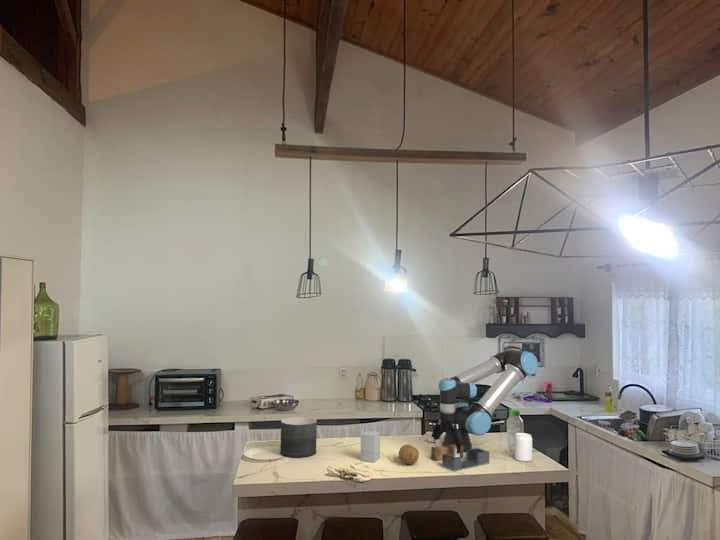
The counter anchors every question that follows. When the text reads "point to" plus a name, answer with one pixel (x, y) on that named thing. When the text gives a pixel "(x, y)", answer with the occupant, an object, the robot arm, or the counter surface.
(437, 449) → the slat
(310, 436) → the planter
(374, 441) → the supplement box
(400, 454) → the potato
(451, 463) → the grey notched block
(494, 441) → the counter surface
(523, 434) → the beverage can
